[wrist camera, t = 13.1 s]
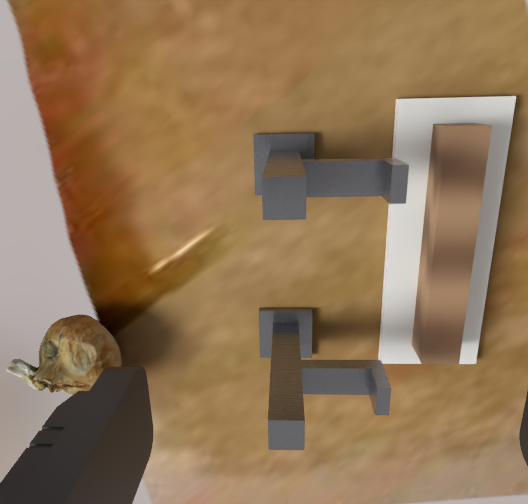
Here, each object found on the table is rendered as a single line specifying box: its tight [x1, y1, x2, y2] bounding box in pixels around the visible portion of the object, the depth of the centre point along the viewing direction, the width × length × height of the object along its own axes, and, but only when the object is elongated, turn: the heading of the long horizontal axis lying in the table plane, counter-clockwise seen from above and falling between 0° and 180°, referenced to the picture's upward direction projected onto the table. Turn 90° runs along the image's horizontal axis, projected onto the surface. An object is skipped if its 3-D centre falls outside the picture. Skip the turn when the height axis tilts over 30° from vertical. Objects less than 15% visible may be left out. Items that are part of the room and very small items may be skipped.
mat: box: [378, 96, 516, 364], centre depth 39 cm, size 24×9×1 cm, turn 1°
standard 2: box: [254, 133, 409, 220], centre depth 31 cm, size 5×10×14 cm, turn 91°
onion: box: [6, 315, 122, 394], centre depth 40 cm, size 8×8×8 cm
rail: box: [412, 123, 492, 364], centre depth 37 cm, size 20×3×3 cm, turn 1°
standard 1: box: [259, 308, 391, 450], centre depth 36 cm, size 5×10×14 cm, turn 91°
